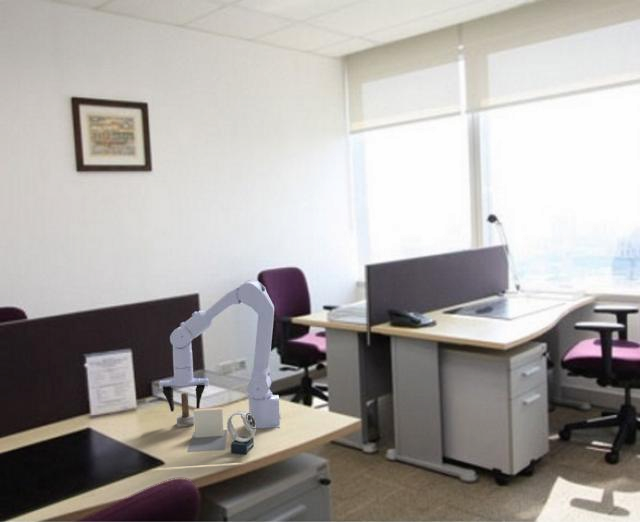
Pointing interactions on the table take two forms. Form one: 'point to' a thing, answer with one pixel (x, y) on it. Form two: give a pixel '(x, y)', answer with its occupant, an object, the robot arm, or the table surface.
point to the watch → (241, 443)
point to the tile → (208, 422)
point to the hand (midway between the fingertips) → (185, 409)
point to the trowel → (185, 413)
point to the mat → (207, 443)
